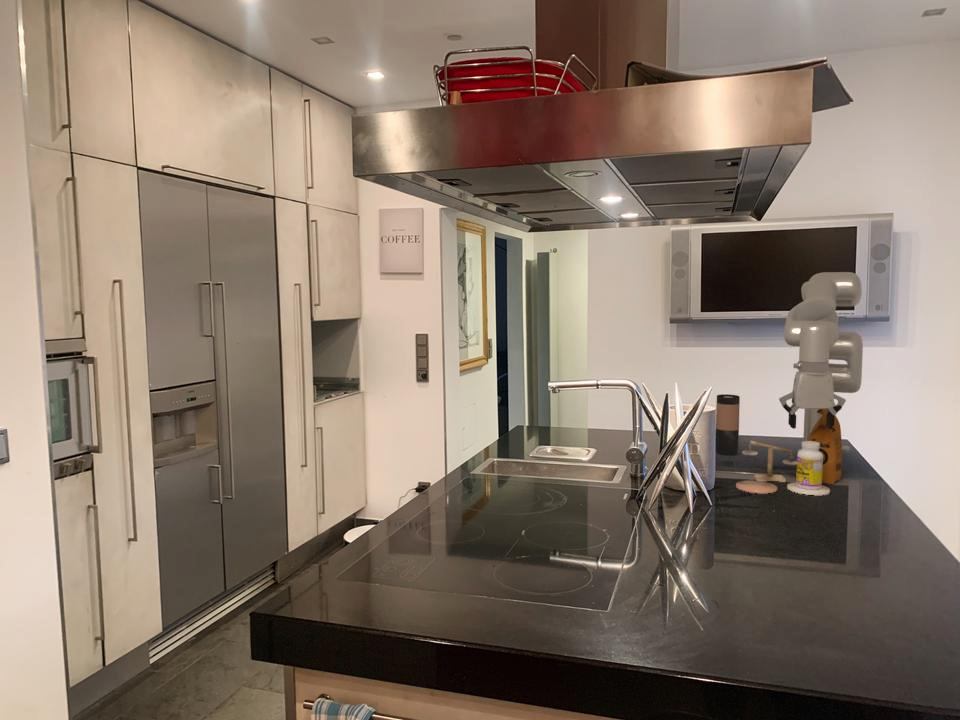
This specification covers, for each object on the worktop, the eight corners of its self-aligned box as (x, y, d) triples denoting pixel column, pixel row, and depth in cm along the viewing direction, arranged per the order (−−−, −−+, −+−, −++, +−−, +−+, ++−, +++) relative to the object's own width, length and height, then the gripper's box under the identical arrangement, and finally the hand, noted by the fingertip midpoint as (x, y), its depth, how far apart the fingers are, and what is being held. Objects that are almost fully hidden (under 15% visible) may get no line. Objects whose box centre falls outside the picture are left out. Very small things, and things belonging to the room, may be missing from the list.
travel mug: (740, 452, 247) (742, 395, 245) (735, 456, 241) (737, 398, 239) (717, 449, 251) (719, 393, 249) (712, 453, 245) (714, 396, 243)
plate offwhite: (822, 485, 205) (822, 482, 205) (835, 496, 195) (835, 493, 194) (782, 484, 207) (782, 481, 207) (793, 495, 196) (793, 492, 196)
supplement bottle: (790, 485, 203) (792, 440, 202) (810, 483, 205) (812, 439, 204) (807, 491, 197) (809, 445, 196) (827, 489, 199) (829, 444, 197)
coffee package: (798, 480, 211) (801, 407, 209) (810, 471, 221) (813, 402, 218) (835, 486, 205) (838, 411, 203) (845, 477, 214) (848, 405, 212)
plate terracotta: (771, 483, 207) (771, 481, 207) (781, 494, 197) (782, 491, 196) (732, 482, 209) (732, 479, 209) (740, 493, 198) (740, 490, 198)
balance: (795, 478, 213) (797, 440, 212) (800, 482, 208) (801, 443, 207) (739, 476, 215) (741, 438, 214) (742, 480, 211) (744, 442, 210)
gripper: (784, 369, 195) (782, 430, 197) (851, 369, 192) (848, 431, 194) (777, 365, 202) (775, 424, 204) (841, 366, 200) (839, 425, 202)
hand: (810, 427), depth 199 cm, fingers open, 9 cm apart
